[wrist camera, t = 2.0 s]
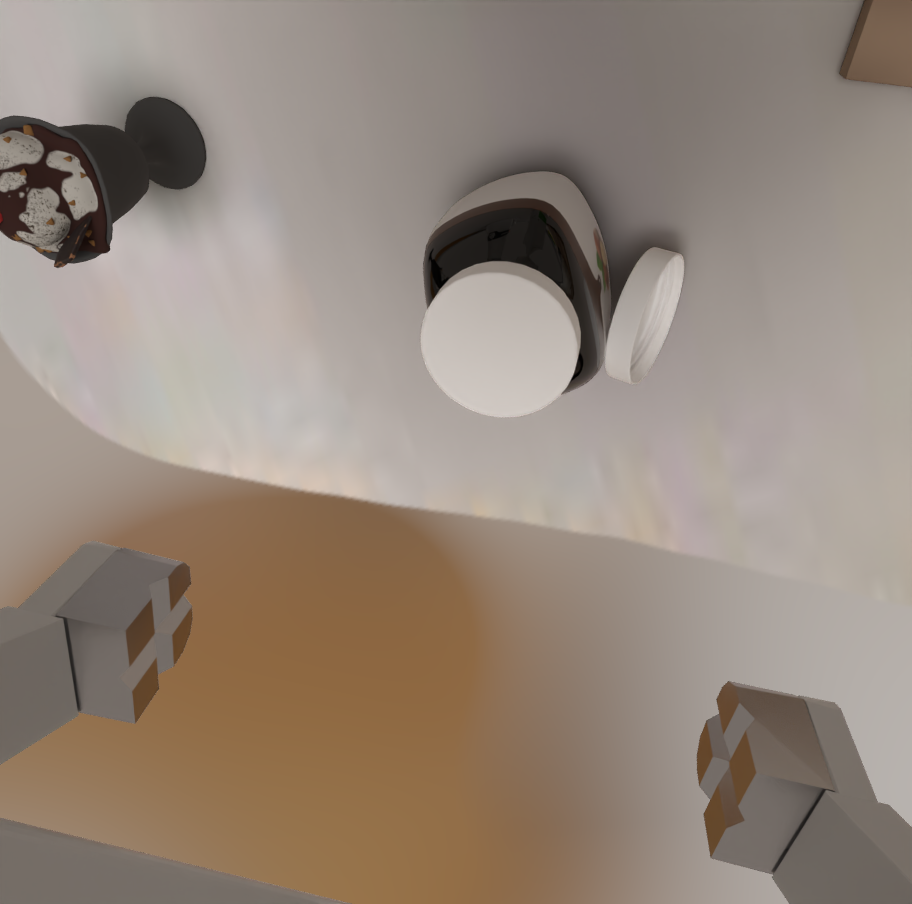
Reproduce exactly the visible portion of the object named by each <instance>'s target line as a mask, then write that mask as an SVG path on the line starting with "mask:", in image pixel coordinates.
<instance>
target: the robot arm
mask: <svg viewBox="0 0 912 904" xmlns="http://www.w3.org/2000/svg"><path fill="white" fill-rule="evenodd" d="M190 585H191V577H190V567H189V566H188V565H187V564H186V563H184V562H180V561H176V560H172V559H168V558H164V557H160V556H156V555H152V554H148V553H144V552H139V551H135V550H131V549H127V548H120V547H116V546H112V545H108V544H104V543H100V542H96V541H91V542H88V543H85V544H83V545H82V546H81V547H80V548H79V549H78V550H77V551H76V552H75V553H74V554H73V555H71V557H69V558H68V559H67V561H66V562H64V563H63V564H62V565H61V566H60V567H59V568H58V569H57V570H56V571H55V572H54V573H53V574H52V575H51V576H50V577H49V578H48V579H47V580H46V581H45V582H44V583H43V584H42V585H41V586H40V587H39V588H38V589H37V590H36V591H35V592H34V593H33V594H32V595H31V596H30V597H29V598H28V599H27V600H26V601H25V602H24V603H22V604H21V605H20V606H19V607H18V608H14V607H9V606H7V607H4V608H2V609H0V764H2V763H4V762H5V761H7V760H8V759H10V758H12V757H13V756H15V755H16V754H18V753H20V752H21V751H23V750H24V749H26V748H28V747H29V746H31V745H32V744H34V743H35V742H37V741H39V740H40V739H42V738H43V737H45V736H47V735H48V734H50V733H52V732H53V731H55V730H56V729H58V728H59V727H61V726H63V725H64V724H66V723H67V722H69V721H71V720H72V719H74V718H75V717H77V716H78V712H80V713H85V714H90V715H94V716H99V717H105V718H109V719H114V720H120V721H124V722H129V723H134V724H135V723H136V722H137V721H138V719H139V718H140V716H141V715H142V713H143V712H144V710H145V709H146V707H147V706H148V704H149V703H150V701H151V700H152V698H153V697H154V695H155V693H156V692H157V691H158V689H159V684H158V674H160V673H162V672H164V671H166V670H168V669H169V668H172V667H173V666H174V665H175V664H176V662H177V661H178V659H179V657H180V656H181V654H182V653H183V651H184V648H185V645H186V643H187V640H188V638H189V635H190V631H191V625H192V605H191V604H190V603H189V602H188V600H187V599H186V597H185V596H184V595H183V594H184V593H185V591H186V590H187V589H188V587H189V586H190ZM716 700H717V705H718V710H719V714H718V715H716V716H714V717H712V718H710V719H708V720H707V721H706V723H705V726H704V729H703V731H702V733H701V736H700V740H699V746H698V752H697V774H698V780H699V786H700V788H701V789H702V790H703V791H704V793H705V794H706V795H707V796H708V798H709V799H710V802H709V804H708V806H707V808H706V810H705V812H704V820H705V826H706V832H707V838H708V844H709V851H710V857H711V858H712V859H716V860H720V861H724V862H727V863H731V864H735V865H739V866H743V867H747V868H750V869H754V870H758V871H762V872H765V873H769V874H773V876H772V878H773V880H774V881H775V883H776V884H777V886H778V887H779V889H780V890H781V892H782V893H783V895H784V896H785V898H786V899H787V901H788V902H789V904H912V827H911V826H910V825H909V824H908V823H907V822H906V821H905V820H904V819H903V818H902V817H901V816H900V815H899V814H898V813H897V812H896V811H895V810H894V809H893V808H892V807H891V806H889V805H887V804H883V803H878V801H877V799H876V796H875V794H874V791H873V789H872V786H871V784H870V781H869V779H868V776H867V774H866V771H865V769H864V766H863V764H862V761H861V759H860V756H859V754H858V751H857V748H856V746H855V744H854V741H853V739H852V736H851V734H850V731H849V728H848V726H847V724H846V721H845V718H844V716H843V713H842V711H841V709H840V708H839V707H838V706H837V705H836V704H835V703H834V702H829V701H824V700H819V699H814V698H809V697H804V696H796V695H793V694H788V693H783V692H778V691H773V690H769V689H763V688H759V687H754V686H750V685H745V684H740V683H735V682H731V681H728V682H727V683H726V684H725V685H724V686H723V687H722V689H721V691H720V693H719V695H718V697H717V699H716ZM0 904H350V903H346V902H342V901H338V900H334V899H330V898H326V897H321V896H317V895H314V894H310V893H305V892H301V891H297V890H293V889H289V888H285V887H281V886H277V885H273V884H269V883H265V882H261V881H257V880H252V879H249V878H244V877H240V876H236V875H232V874H228V873H224V872H219V871H216V870H212V869H207V868H204V867H199V866H195V865H191V864H187V863H183V862H179V861H175V860H170V859H166V858H163V857H159V856H155V855H150V854H146V853H142V852H138V851H134V850H130V849H125V848H122V847H118V846H114V845H110V844H106V843H101V842H97V841H93V840H89V839H85V838H81V837H76V836H73V835H68V834H64V833H61V832H56V831H52V830H48V829H44V828H40V827H36V826H32V825H27V824H24V823H20V822H15V821H11V820H7V819H3V818H0Z"/></svg>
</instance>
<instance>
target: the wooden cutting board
mask: <svg viewBox="0 0 912 904" xmlns="http://www.w3.org/2000/svg"><path fill="white" fill-rule="evenodd" d="M839 74H840V75H841V76H842V77H844V78H845V79H849V80H857V81H865V82H874V83H882V84H890V85H898V86H906V87H912V0H865V1H864V4H863V7H862V10H861V13H860V16H859V18H858V21H857V24H856V27H855V30H854V33H853V36H852V39H851V42H850V44H849V47H848V50H847V53H846V56H845V59H844V62H843V65H842V68H841V70H840V73H839Z"/></svg>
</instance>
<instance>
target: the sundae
mask: <svg viewBox="0 0 912 904" xmlns="http://www.w3.org/2000/svg"><path fill="white" fill-rule="evenodd" d="M205 160H206V158H205V148H204V142H203V139H202V137H201V134H200V132H199V130H198V128H197V126H196V124H195V123H194V121H193V120H192V119H191V117H190V116H189V115H188V114H187V113H186V112H185V111H184V110H183V109H182V108H181V107H179V106H178V105H176V104H175V103H173V102H171V101H169V100H167V99H163V98H158V97H148V98H145V99H142V100H140V101H138V102H137V103H136V104H135V105H134V106H133V107H132V108H131V110H130V111H129V113H128V115H127V119H126V125H125V132H124V131H122V130H120V129H118V128H116V127H112V126H107V125H88V124H82V125H72V126H63V127H58V126H55V125H53V124H50V123H48V122H45V121H43V120H40V119H35V118H30V117H24V116H9V117H5V118H3V119H1V120H0V231H1V232H2V233H3V234H4V235H6V236H7V237H8V238H10V239H11V240H14V241H17V242H20V243H23V244H25V245H28V246H31V247H32V248H34V249H35V250H36V251H38V252H39V253H40V254H42V255H44V256H46V257H47V258H49V259H51V260H55V264H54V267H56V268H59V267H63V266H65V265H66V264H67V263H73V264H74V263H79V262H84V261H88V260H91V259H93V258H96V257H97V256H99V255H100V254H102V253H107V252H109V251H110V246H109V245H110V242H111V240H112V230H113V227H112V224H113V223H114V222H115V221H117V220H118V219H119V218H120V217H122V216H123V215H124V214H126V213H127V212H128V211H129V210H131V209H132V208H133V207H134V206H135V204H136V203H137V202H138V201H139V200H140V199H141V198H142V197H143V196H144V195H145V193H146V192H147V190H148V187H149V179H151V180H152V181H154V182H155V183H157V184H159V185H161V186H163V187H166V188H171V189H183V188H187V187H189V186H192V185H193V184H194V183H195V182H196V181H197V180H198V179H199V178H200V176H201V175H202V172H203V169H204V165H205Z"/></svg>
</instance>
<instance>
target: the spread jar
mask: <svg viewBox="0 0 912 904" xmlns="http://www.w3.org/2000/svg"><path fill="white" fill-rule="evenodd" d="M684 266H685V265H684V258H683V256H682V255H681V254H680V253H676V252H672V251H668V250H665V249H661V248H657V247H653V248H650V249H649V250H647V251H646V252H645V253H644V254H643V255H642V256H641V258H640V259H639V260H638V262H637V263H636V265H635V266H634V268H633V270H632V272H631V274H630V275H629V277H628V279H627V282H626V284H625V286H624V288H623V290H622V293H621V295H620V298H619V300H618V303H617V306H616V309H615V312H614V315H613V318H612V322H611V325H610V318H611V289H610V275H609V266H608V260H607V254H606V249H605V245H604V241H603V238H602V234H601V231H600V229H599V226H598V223H597V221H596V219H595V217H594V215H593V213H592V211H591V209H590V207H589V205H588V203H587V202H586V200H585V198H584V196H583V195H582V193H581V192H580V190H579V189H578V188H577V187H576V185H575V184H574V183H573V182H572V181H571V180H569V179H568V178H567V177H565V176H563V175H561V174H558V173H554V172H547V171H538V172H528V173H521V174H516V175H512V176H508V177H505V178H501V179H498V180H496V181H493V182H491V183H488V184H486V185H484V186H482V187H480V188H478V189H476V190H475V191H473V192H471V193H470V194H468V195H466V196H465V197H463V198H462V199H460V200H459V201H458V202H457V203H456V204H454V205H453V206H452V207H451V208H450V209H449V211H448V212H447V213H446V214H445V215H444V217H443V218H442V219H441V220H440V222H439V223H438V224H437V225H436V227H435V228H434V230H433V231H432V234H431V236H430V238H429V240H428V243H427V245H426V250H425V256H424V262H423V276H424V289H425V298H426V305H427V311H426V313H425V316H424V319H423V322H422V326H421V336H420V342H421V351H422V356H423V359H424V362H425V365H426V367H427V369H428V371H429V373H430V375H431V377H432V379H433V380H434V381H435V382H436V384H437V385H438V386H439V387H440V389H441V390H442V391H443V392H444V393H445V394H447V395H448V396H449V397H450V398H451V399H452V400H454V401H455V402H457V403H458V404H460V405H462V406H463V407H465V408H467V409H469V410H472V411H474V412H477V413H479V414H483V415H488V416H492V417H505V418H509V417H518V416H524V415H527V414H531V413H534V412H537V411H539V410H540V409H542V408H544V407H546V406H548V405H549V404H551V403H552V402H553V401H554V400H556V399H557V398H558V397H559V396H560V395H562V394H565V393H567V392H570V391H572V390H574V389H577V388H579V387H581V386H582V385H584V384H586V383H587V382H588V381H589V380H591V379H592V378H593V377H594V376H595V375H596V374H597V372H598V371H599V369H600V368H601V365H602V363H603V360H604V356H605V369H606V372H607V374H608V375H609V376H610V377H612V378H615V379H618V380H621V381H624V382H627V383H630V384H633V385H635V384H638V383H639V382H641V381H642V380H643V378H644V377H645V376H646V375H647V373H648V372H649V370H650V369H651V367H652V366H653V364H654V362H655V360H656V358H657V356H658V354H659V353H660V350H661V348H662V346H663V344H664V342H665V339H666V337H667V334H668V332H669V329H670V326H671V324H672V321H673V318H674V315H675V312H676V308H677V305H678V301H679V298H680V294H681V289H682V284H683V278H684Z"/></svg>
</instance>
